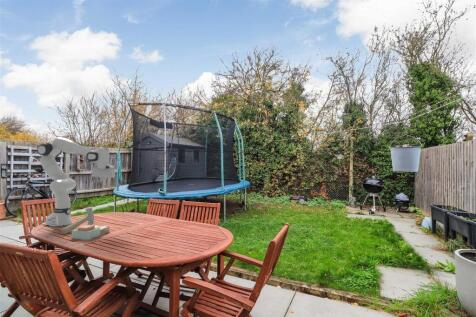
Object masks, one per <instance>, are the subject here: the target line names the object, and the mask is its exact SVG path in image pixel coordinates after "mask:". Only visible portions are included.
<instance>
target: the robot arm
mask: <svg viewBox="0 0 476 317" xmlns="http://www.w3.org/2000/svg"><path fill="white" fill-rule="evenodd" d="M36 152H37V154H39V155H40V156H41V157H40V158H39V162H40V165H41V167H42V169H43V170H44V172H45V173H46V175H47V177H48V178H49V179H52V180H53V181H51V182H50V184H49V190H50V191H51V192H52V193H53V195H54V201H55V207H54V208H52V213H50V214H49V215H48V216H46V219H45V221H44V222H43V223H42V226H47V225H49V226H48V227H62V226H63V225H64V226H68V225H70V224H72V223H73V222H72V215H71V210H72V209H71V208H72V207H71V198H70V196H69V194H68V192H69V191H72V190H74V189H75V188H76V186H77V183H76V182H77V181H76V180H74V179H73V178H71V177H70V176H69V175H68V174H66V173H65V172H64V170H63V169H62V168H61V167H60V165H59V164H58V162H57V161H56V159H57V158H58V157H59V156H60V155H61V154H62V153H63V152H64V153H65V154H70V155H71V154H74V155H85V156H86V160H87V161H88V162H90V163H97V166H96V165H94V166H92V167H91V177H92V178H99V180H100V183H101V184H102V183H103V184H105V183H106V180H107V178H108V179H109V178H112V179H113V178H114V179H115V177H116V170H115V166H114V165H112V164H110V150H109V148H107V147H102V146H99V147H98V148H96V149H90V148H88V147H85V146H82V145H81V144H78V143H77V142H75V141H73V140H71V139H68V138H65V137H58V136H57V137H56V138H54V139H53V141H52V142H45V143H41V144H39V145H38V146H37V149H36Z"/></svg>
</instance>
